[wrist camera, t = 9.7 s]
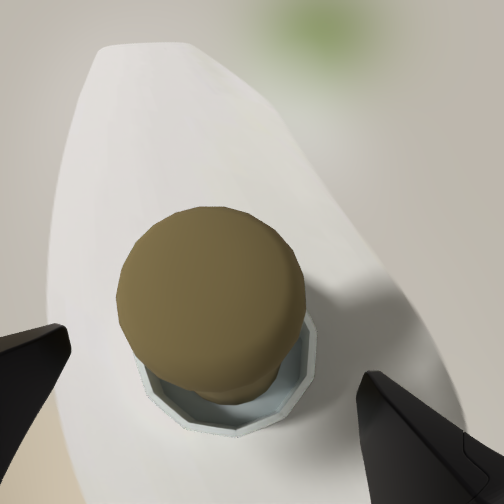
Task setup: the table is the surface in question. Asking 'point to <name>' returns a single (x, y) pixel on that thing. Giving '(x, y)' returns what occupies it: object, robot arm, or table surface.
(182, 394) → the bowl
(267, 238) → the cork
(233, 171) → the table surface
